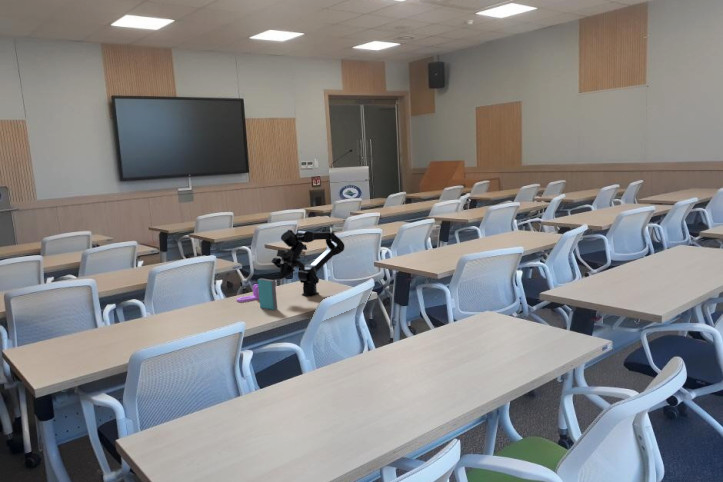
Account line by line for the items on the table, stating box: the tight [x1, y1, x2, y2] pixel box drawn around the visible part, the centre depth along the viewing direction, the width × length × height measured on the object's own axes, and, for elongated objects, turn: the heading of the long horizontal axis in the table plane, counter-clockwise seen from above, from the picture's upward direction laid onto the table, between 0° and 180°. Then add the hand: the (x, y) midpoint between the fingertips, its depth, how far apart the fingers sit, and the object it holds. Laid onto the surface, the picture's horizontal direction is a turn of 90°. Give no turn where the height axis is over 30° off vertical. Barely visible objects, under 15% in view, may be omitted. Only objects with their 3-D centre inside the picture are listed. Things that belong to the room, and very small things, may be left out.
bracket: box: [236, 283, 259, 303], centre depth 288 cm, size 13×6×7 cm, turn 114°
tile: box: [257, 278, 278, 311], centre depth 269 cm, size 2×10×14 cm, turn 50°
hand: (280, 278), depth 274 cm, fingers closed
